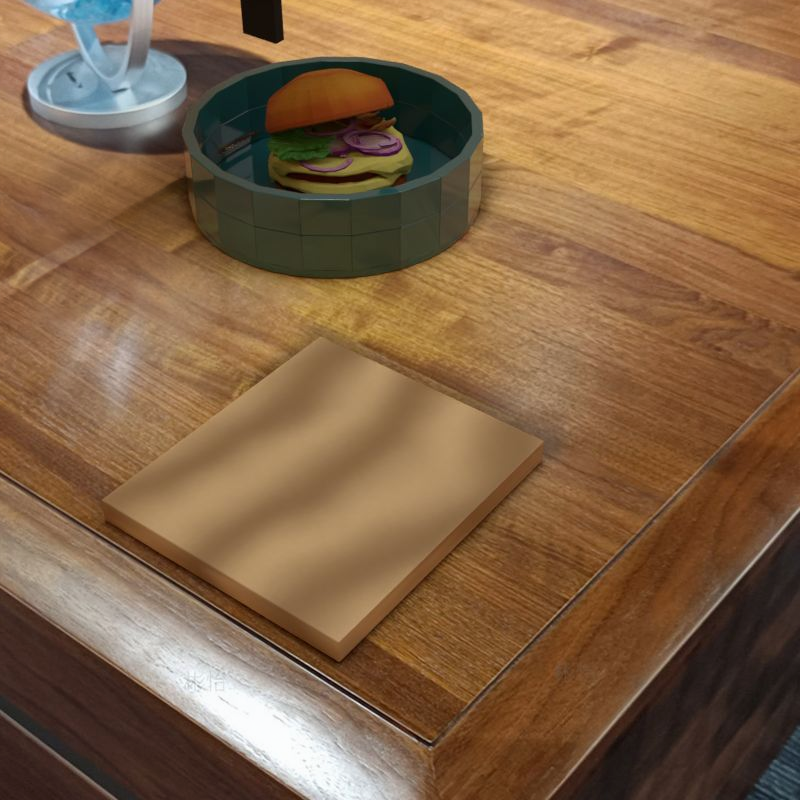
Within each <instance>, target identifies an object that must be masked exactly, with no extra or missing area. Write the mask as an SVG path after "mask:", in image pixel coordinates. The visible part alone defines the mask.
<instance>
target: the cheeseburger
mask: <svg viewBox="0 0 800 800" xmlns="http://www.w3.org/2000/svg"><path fill="white" fill-rule="evenodd" d="M393 105H394V102H393V99H392V97H391V95H390V93H389V91H388V89H387V87H386V85H385V83H384V82H383V81H382V80H381V79H380V78H376V77H373V76H370V75H366V74H363V73H360V72H357V71H353V70H348V69H325V70H318V71H312V72H308V73H304V74H302V75H300V76H298V77H296V78H295V79H293V80H292V81H291V82H289V83H288V84H286V85H285V86H284V87H282V88H281V89H280V90H279V91H277V92H276V93H275V94H274V95H272V97H271V98H270V99H269V100H268V104H267V111H266V121H265V127H266V131H267V132H269V133H273V134H272V136H271V137H270V138H269V141H270V142H269V143H268V145H267V146H266V148H269V151H271V153H270V156H269V160H268V162H269V164H268V168H269V177H270V178H271V182H272V183H274V182H275V183H276V185H277V188H278V189H280V190H286V191H291V192H297V193H310V194H351V193H358V192H364V191H371V190H377V189H384V188H390V187H396V186H399V185H401V184H404V183H406V181H407V174H408V173H409V172H410V171H411V167H412V163H413V158H412V156H411V154H410V152H409V150H408V148H407V146H406V144H405V142H404V139H403V136H402V134H401V133H400V132H398V131H397V130H396V129H394V127H393V126H392V125H393V124H394V123H395V121H396V118H395V117H394V118H393V119H391V120H388V121H385V120H384V119H385V118H380V117H378V116H375V115H376V114H378V113H380V110H385V109H389V108H390V107H392V106H393Z"/></svg>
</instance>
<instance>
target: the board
mask: <svg viewBox="0 0 800 800" xmlns="http://www.w3.org/2000/svg"><path fill="white" fill-rule="evenodd" d="M544 446H545V441H544V440H543V439H541V438H539V437H537V436H535V435H532V434H530V433H528V432H525V431H523V430H521V429H519V428H517V427H515V426H513V425H511V424H509V423H507V422H505V421H502V420H500V419H498V418H496V417H494V416H492V415H489V414H487V413H485V412H483V411H481V410H479V409H477V408H475V407H473V406H470V405H468V404H466V403H464V402H462V401H460V400H458V399H456V398H453V397H451V396H449V395H447V394H445V393H443V392H441V391H439V390H437V389H434V388H432V387H430V386H428V385H426V384H423V383H422V382H419V381H417V380H415V379H413V378H411V377H408V376H406V375H404V374H402V373H400V372H398V371H395V370H394V369H392V368H389V367H387V366H385V365H383V364H381V363H379V362H377V361H374V360H373V359H370V358H369V357H366V356H364V355H362V354H360V353H358V352H356V351H353V350H351V349H349V348H347V347H344V346H343V345H340V344H338V343H337V342H334V341H332V340H330V339H328V338H325V337H323V336H322V335H321V336H318V337H317V338H316V339H314V340H313V341H311V342H310V343H309V344H308V345H307V346H305V347H304V348H302V349H301V350H300V351H299V352H297V353H296V354H294V355H293V356H291V358H289V359H287V361H285V362H284V363H282V364H281V365H280V366H278V367H277V368H276V369H274V370H273V371H272V372H270V373H269V374H268V375H267V376H265V377H263V378H262V379H261V380H260V381H257V383H256V384H254V385H253V386H252V387H251V388H249V389H248V390H246V391H245V392H243V393H242V394H241V395H239V396H238V397H237V398H236V399H234V400H233V401H232V402H230V403H229V404H227V405H226V406H225V407H223V408H222V409H221V410H219V411H218V412H217V413H216V414H214V415H213V416H211V417H210V418H209V419H207V420H206V421H204V422H203V423H202V424H201V425H199V426H198V427H197V428H195V429H194V430H192V431H191V432H190V433H189V434H187V435H186V436H185V437H183V438H182V439H181V440H179V441H178V442H177V443H175V444H174V445H173V446H171V447H169V449H168V450H166V451H164V452H163V453H162V454H160V455H159V456H158V457H157V458H155V459H154V460H152V461H151V462H150V463H148V464H147V465H145V466H144V467H143V468H142V469H140V470H139V471H138V472H137V473H135V474H134V475H132V476H131V477H130V478H129V479H127V480H126V481H124V482H123V483H122V484H121V485H118V487H116V488H115V489H114V490H113V491H111V492H110V493H108V494H107V495H106V496H104V497H103V498H102V499H101V506H102V507H101V508H102V513H103V516H104V520H105V521H106V522H107V523H109V524H111V525H112V526H114V527H116V528H118V529H119V530H120V531H123V532H124V533H126V534H128V535H129V536H131V537H132V538H134V539H136V540H137V541H139V542H140V543H142V544H144V545H146V546H147V547H149V548H151V550H153V551H155V552H157V553H159V554H160V555H162V556H164V557H165V558H167V559H169V560H170V561H172V562H173V563H175V564H177V565H178V566H180V567H181V568H183V569H185V570H187V571H188V572H190V573H191V574H193V575H195V576H196V577H198V578H200V579H201V580H203V581H204V582H206V583H208V584H210V585H211V586H213V587H215V588H216V589H218V590H219V591H221V592H223V593H224V594H226V595H228V596H229V597H231V598H232V599H234V600H235V601H238V602H239V603H241V604H243V606H246V607H247V608H249V609H251V610H252V611H254V612H256V613H257V614H259V615H261V616H262V617H264V618H266V619H267V620H268V621H271V622H272V623H274V624H275V625H276V626H279V627H280V628H282V629H283V630H285V631H287V632H289V633H290V634H291V635H293V636H295V637H297V638H298V639H300V640H302V641H303V642H305V643H306V644H308V645H310V646H312V647H313V648H315V649H316V650H318V651H320V652H322V654H324V655H326V656H328V657H330V658H331V659H332V660H335V661H336V662H338V663H340V662H341V661H342V660H344V658H345V657H346V656H347V655H349V653H350V652H352V650H354V649H355V648H356V646H357V645H358V644H360V642H362V641H363V640H364V639H365V638H366V637H367V636H368V635H369V634H370V633H371V631H373V630H374V629H375V628H376V626H378V625H379V624H380V623H381V622H382V621H383V620H384V619H385V618H386V617H387V615H388V614H390V613H391V612H392V611H393V610H394V609H395V608H396V607H397V606H398V605H399V604H400V603H401V602H402V601H403V600H404V599H405V598H406V597H407V596H408V595H409V594H410V593H411V592H412V591H413V590H414V589H415V588H416V587H417V586H419V584H420V583H421V582H422V581H423V580H424V579H425V578H426V577H427V576H428V575H429V574H430V573H431V572H432V571H433V570H434V569H435V568H436V567H437V566H438V565H439V564H440V563H441V562H442V561H443V560H444V559H445V558H446V557H447V556H448V555H449V554H450V553H451V552H452V551H453V550H454V549H455V548H456V547H457V546H458V545H459V544H460V543H461V542H462V541H463V540H464V539H465V538H466V537H467V536H469V534H470V533H471V532H472V531H473V530H474V529H475V528H476V527H477V526H478V525H479V524H481V522H482V521H484V520H485V518H486V517H487V516H488V515H489V514H491V512H492V511H493V510H494V509H495V508H497V506H498V505H500V503H502V501H503V500H504V499H505V498H506V497H507V496H508V495H509V494H511V493H512V492H513V491H514V489H515V488H516V487H518V485H520V484H521V483H522V481H523V480H525V478H526V477H528V475H529V474H531V473H532V472H533V471H534V470H535V469H536V468H537V467H538V466H539V464H541V462H542V461H543V458H544Z"/></svg>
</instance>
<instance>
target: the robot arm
mask: <svg viewBox="0 0 800 800" xmlns="http://www.w3.org/2000/svg"><path fill="white" fill-rule="evenodd" d="M239 1H240V11H241V25H242V33H243V34H245V35H248V36H251V37H254V38H257V39H259V40H262V41H266V42H270V43H272V44H275V45H277V44H279V43H281V42H283V41H284V40H285V34H284V33H285V32H284V18H283V16H284V15H283V3H282V0H239Z"/></svg>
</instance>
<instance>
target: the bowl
mask: <svg viewBox="0 0 800 800" xmlns="http://www.w3.org/2000/svg"><path fill="white" fill-rule="evenodd" d="M325 69H348V70H353V71H357V72H360V73H363V74H366V75H370V76H373V77H376V78H380V79H381V80H382V81H383V82H384V83H385V85H386V87H387V89H388V91H389V93H390V95H391V97H392V99H393V102H394V105H393V106H392V107H390V108H389V109H385V110H380V113H378V114H376V115H375V116H378V117H380V118H385V119H384V120H385V121H388V120H391V119H393V118H394V117H395V118H396V121H395V123H394V124H393V125H392V126H393V127H394V129H396V130H397V131H398V132H400V133H401V134H402V136H403V139H404V142H405V144H406V146H407V148H408V150H409V152H410V154H411V156H412V158H413V163H412V167H411V171H410V172H409V173H408V174H407V181H406V183H404V184H401V185H399V186H396V187H390V188H384V189H377V190H371V191H364V192H358V193H351V194H310V193H297V192H291V191H286V190H280V189H278V188H277V185H276V183H275V182H274V183H272V182H271V178H270V177H269V168H268V164H269V162H268V160H269V156H270V153H271V151H269V148H266V146H267V145H268V143H269V142H270V141H269V138H270V137H271V136H272V134H273V133H269V132H267V131H266V127H265V121H266V111H267V104H268V100H269V99H270V98H271V97H272V95H274V94H275V93H276V92H277V91H279V90H280V89H281V88H282V87H284V86H285V85H286V84H288V83H289V82H291V81H292V80H293V79H295V78H296V77H298V76H300V75H302V74H304V73H308V72H312V71H318V70H325ZM483 115H484V114H483V112H482V111H481V109H480V108H479V106H477V104H476V103H475V101H474V100H473V98H472V97H471V96H470V95H469V93H468V92H467V91H466V90H464V89H463V88H461V87H459V86H458V85H456V84H455V83H453V82H451V81H450V80H448V79H447V78H445V77H443V76H442V75H439V74H437V73H434V72H431V71H428V70H426V69H422V68H419V67H417V66H413V65H411V64H408V63H404V62H400V61H399V62H398V61H392V60H386V59H377V58H372V57H365V56H313V57H305V58H298V59H291V60H284V61H277V62H276V61H275V62H272V63H269V64H265V65H262V66H259V67H256V68H253V69H249V70H246V71H242V72H239V73H237V74H235V75H233V76H231V77H230V78H227V79H225V80H224V81H222V82H220V83H218V84H216V85H214V86H213V87H210V88H208V89H207V91H205V92H204V93H203V95H201V96H200V98H198V99H197V101H195V102H194V103H193V104H192V105H191V106H190V107H189V108H188V110H187V114H186V117H185V120H184V124H183V127H182V129H181V136H182V137H181V139H182V148H183V157H184V164H185V165H184V167H185V175H186V184H187V193H188V201H189V203H190V206H191V212H192V217H193V219H194V221H195V224H196V226H197V228H198V229H199V231H200V232H201V233H202V235H203V236H204V237H205V238H206V239H207V240H208V241H209V242H210V244H212V245H213V246H215V247H216V248H217V249H219V250H220V251H221V252H223V253H224V254H226V255H228V256H230V257H231V258H234V259H236V260H237V261H239V262H242V263H245V264H248V265H249V266H253V267H255V268H259V269H262V270H265V271H269V272H273V273H277V274H283V275H289V276H295V277H305V278H318V279H344V278H346V279H347V278H359V277H367V276H374V275H375V276H376V275H379V274H385V273H391V272H395V271H397V270H398V271H399V270H401V269H405V268H408V267H411V266H414V265H417V264H419V263H422V262H424V261H427V260H428V259H432V258H433V257H435V256H437V255H439V254H441V253H442V252H444V251H446V250H447V249H449V248H450V247H453V245H454V244H455V243H456V242H458V241H459V240H460V239H461V238H462V237H463V236H465V234H466V233H467V232H468V231H469V230H470V228H471V227H472V225H473V224H474V221H475V220H476V218H477V216H478V213H479V208H480V205H481V202H482V184H483V183H482V182H483V164H484V163H483V162H484V161H483V160H484V140H485V139H484V138H485V137H484V136H485V132H484V117H483ZM254 133H255V134H254ZM251 134H253V135H251ZM249 135H251V136H249ZM247 136H249V137H248V138H246V139H245V137H247ZM242 139H245V140H242ZM240 140H242V141H241V142H239V143H237V144H235V143H236V142H238V141H240ZM233 144H235V145H234V146H232V147H230V148H228V147H229V146H231V145H233ZM226 148H228V149H227V150H224V149H226ZM223 150H224V152H222V151H223ZM221 152H222V153H221Z"/></svg>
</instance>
